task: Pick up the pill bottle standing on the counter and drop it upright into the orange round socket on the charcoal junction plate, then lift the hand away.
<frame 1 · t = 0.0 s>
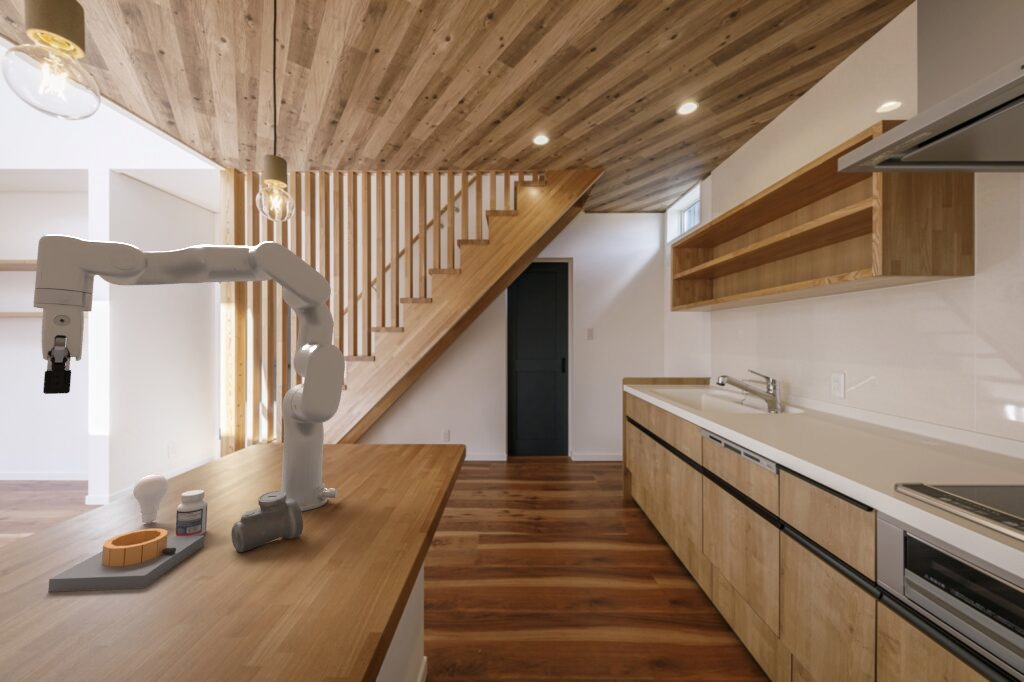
hand: (57, 391, 78), 31 cm above the table, fingers open, 9 cm apart
pill bottle: (190, 535, 89), on the table
junction plate: (135, 565, 75), on the table
lightbulb: (149, 524, 95), on the table
pipe fitting: (266, 545, 86), on the table
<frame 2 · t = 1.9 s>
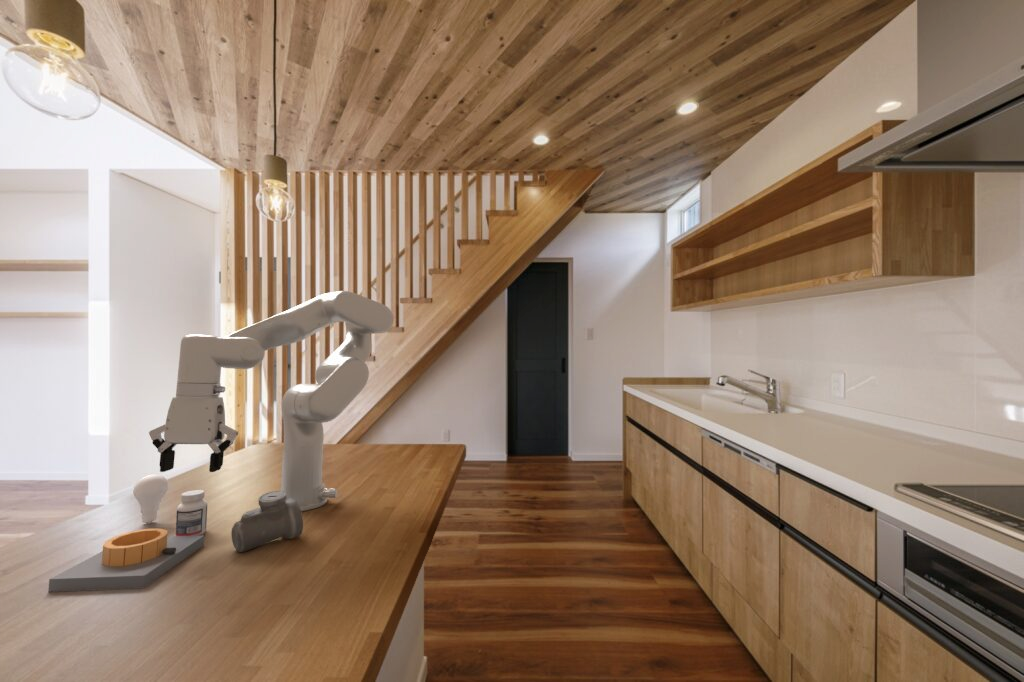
hand: (191, 470, 90), 14 cm above the table, fingers open, 9 cm apart
nothing on the table moved.
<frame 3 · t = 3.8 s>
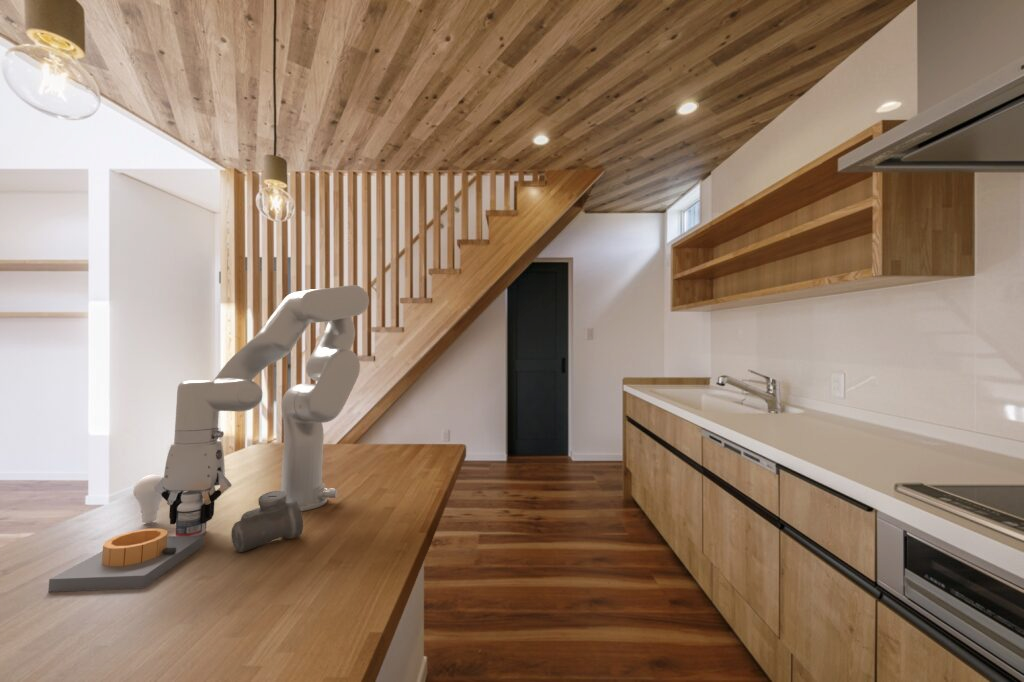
hand: (191, 520, 90), 3 cm above the table, fingers closed on pill bottle, 5 cm apart
pill bottle: (190, 535, 89), on the table, touching gripper
everything else where it was.
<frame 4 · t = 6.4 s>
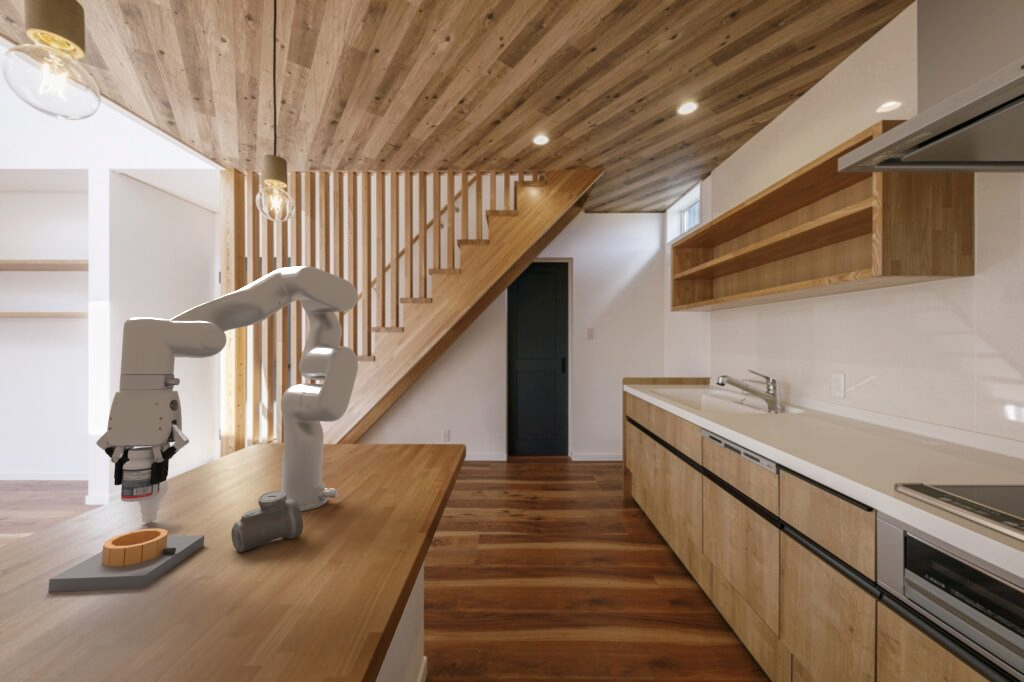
hand: (141, 481, 76), 15 cm above the table, fingers closed on pill bottle, 5 cm apart
pill bottle: (140, 498, 76), point 12 cm above the table, touching gripper
everything else where it was.
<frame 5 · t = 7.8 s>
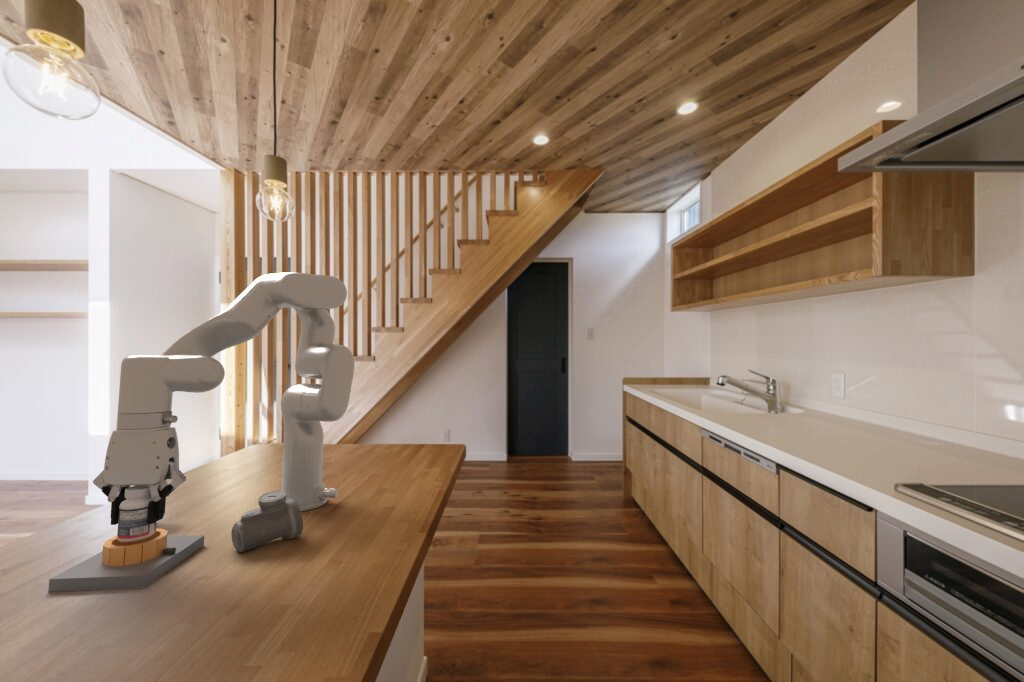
hand: (137, 520, 76), 8 cm above the table, fingers closed on pill bottle, 5 cm apart
pill bottle: (136, 537, 76), point 5 cm above the table, touching gripper
everything else where it was.
when the fingers open (6 cm above the table, at t = 9.1 s): pill bottle drops 1 cm, resting on junction plate.
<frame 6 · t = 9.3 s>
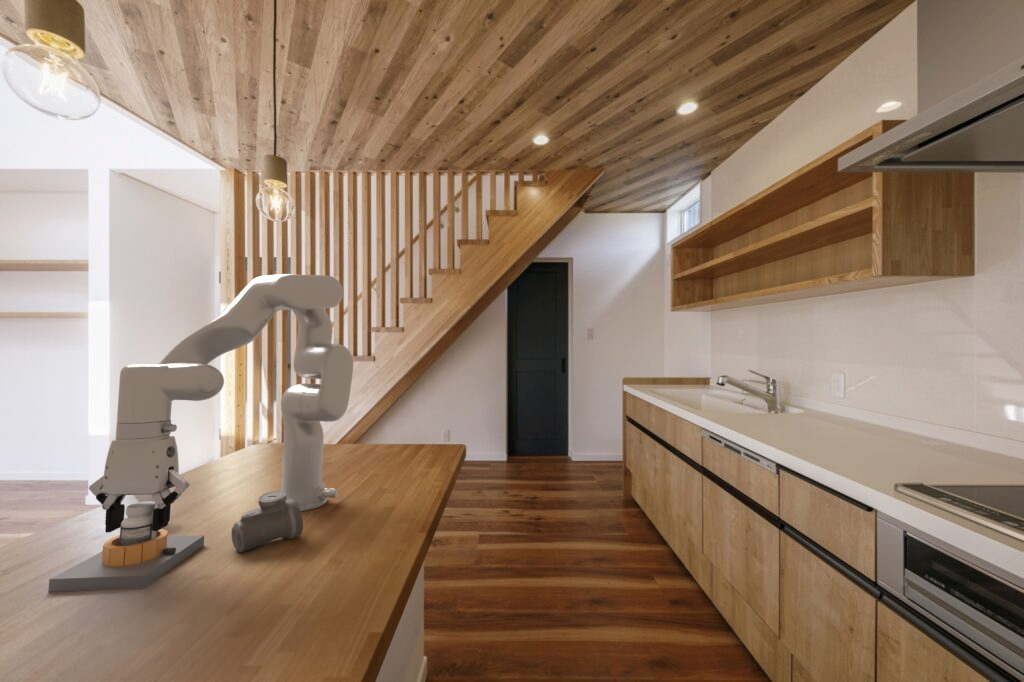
hand: (137, 528, 76), 7 cm above the table, fingers open, 7 cm apart
pill bottle: (137, 555, 76), point 2 cm above the table, touching junction plate
everything else where it was.
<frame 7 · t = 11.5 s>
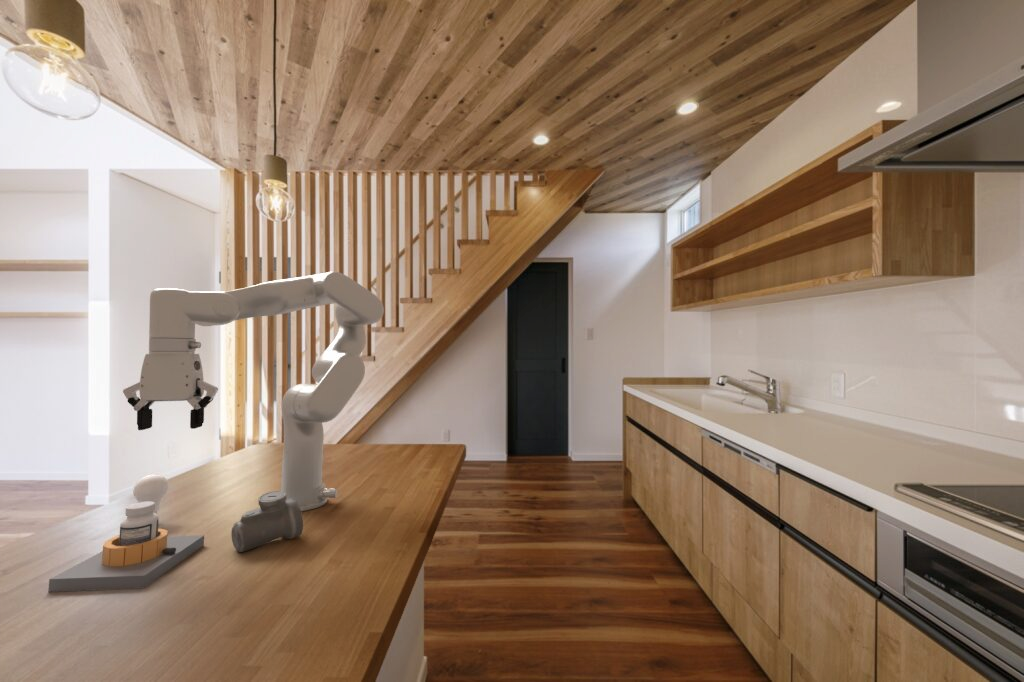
hand: (170, 428, 88), 23 cm above the table, fingers open, 9 cm apart
nothing on the table moved.
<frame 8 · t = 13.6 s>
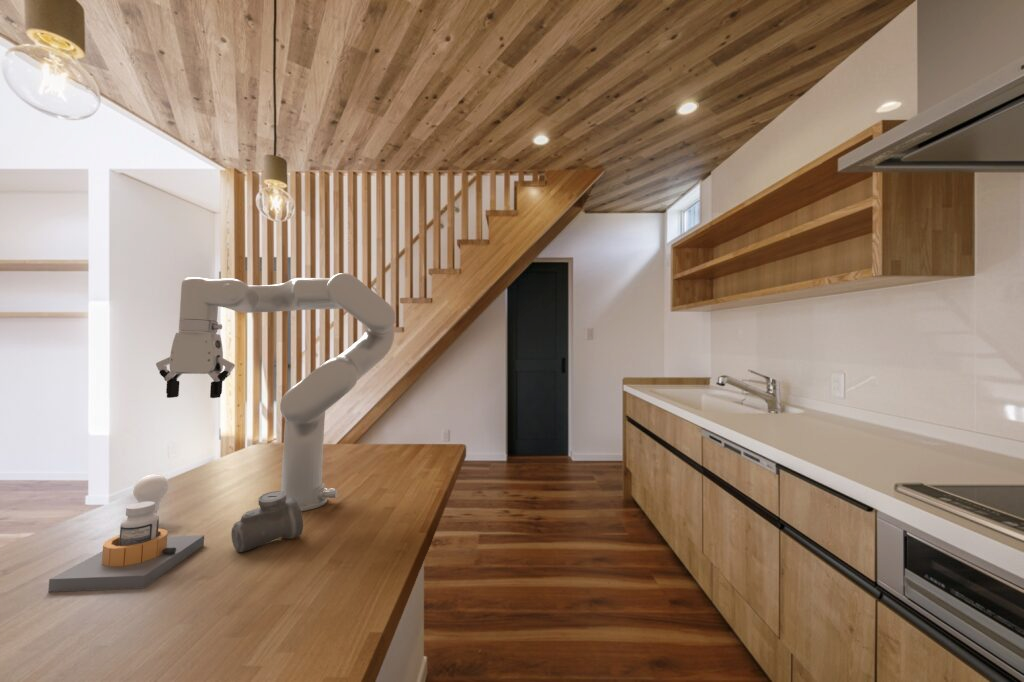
hand: (194, 397, 102), 28 cm above the table, fingers open, 9 cm apart
nothing on the table moved.
at the end: pill bottle 0.3 cm off-centre on the junction plate, point 1.8 cm above the junction plate's base; pill bottle tilted 0°; the gripper is holding nothing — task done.
